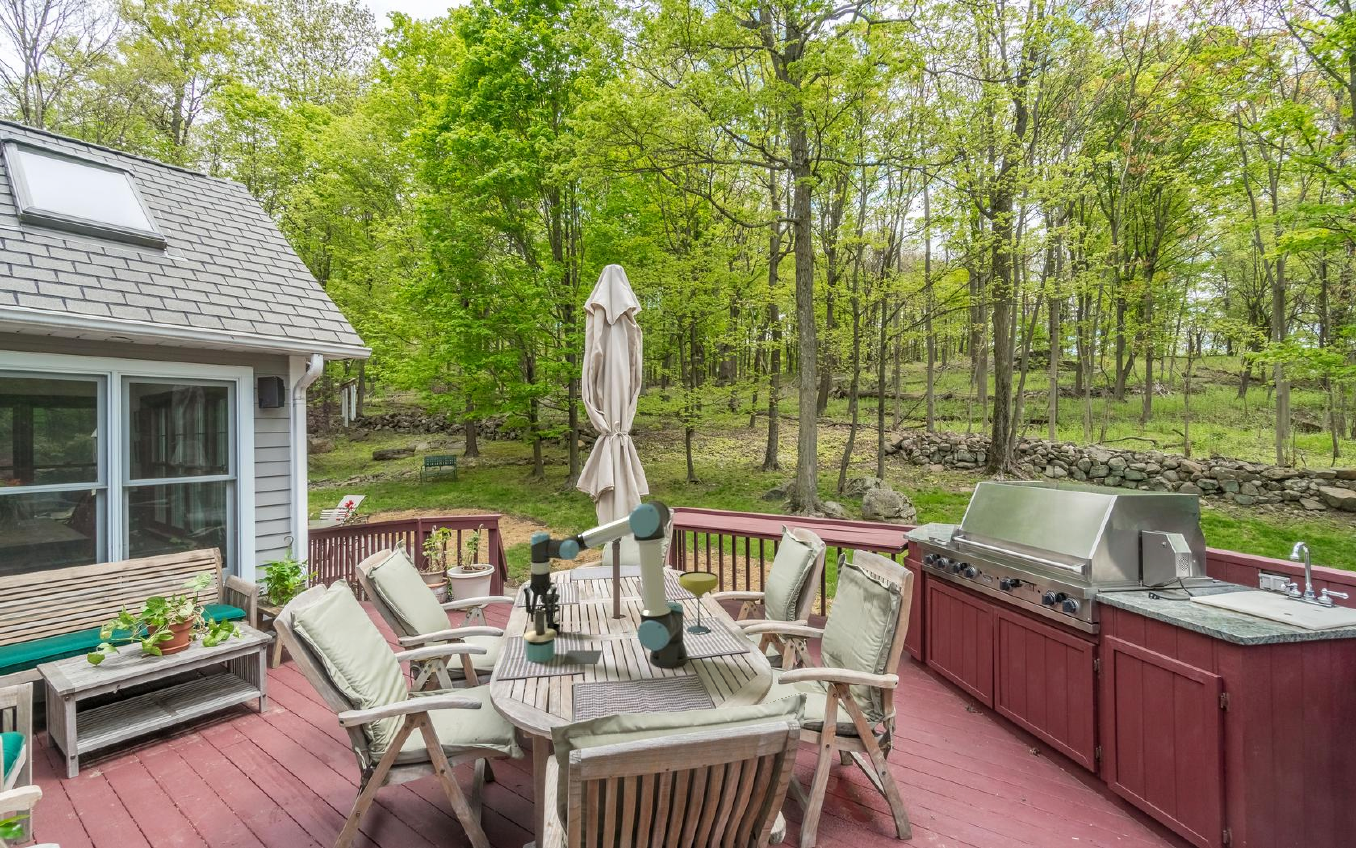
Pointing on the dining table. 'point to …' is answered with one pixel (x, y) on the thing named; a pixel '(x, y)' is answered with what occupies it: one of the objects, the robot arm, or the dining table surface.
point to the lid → (540, 630)
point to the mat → (582, 657)
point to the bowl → (540, 651)
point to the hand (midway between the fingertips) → (540, 629)
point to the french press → (553, 620)
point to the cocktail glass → (698, 590)
